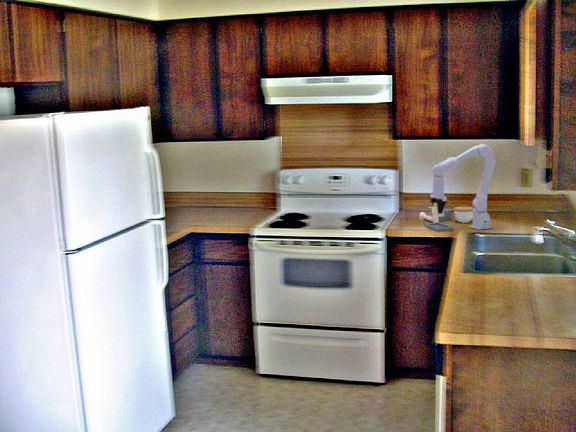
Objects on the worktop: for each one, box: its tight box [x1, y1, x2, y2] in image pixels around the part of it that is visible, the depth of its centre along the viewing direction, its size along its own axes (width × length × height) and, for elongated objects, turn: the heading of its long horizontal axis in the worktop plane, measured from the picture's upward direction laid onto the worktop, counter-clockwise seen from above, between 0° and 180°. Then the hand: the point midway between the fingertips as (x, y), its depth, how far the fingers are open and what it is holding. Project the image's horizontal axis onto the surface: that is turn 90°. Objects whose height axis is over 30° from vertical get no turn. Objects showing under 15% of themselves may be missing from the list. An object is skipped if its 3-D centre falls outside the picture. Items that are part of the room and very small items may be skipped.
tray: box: [423, 222, 454, 232], centre depth 400 cm, size 15×9×2 cm, turn 17°
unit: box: [438, 208, 454, 222], centre depth 422 cm, size 6×9×6 cm, turn 107°
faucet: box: [418, 206, 439, 223], centre depth 421 cm, size 4×18×10 cm, turn 19°
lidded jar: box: [453, 204, 474, 224], centre depth 415 cm, size 11×11×9 cm
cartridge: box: [432, 203, 445, 217], centre depth 399 cm, size 4×4×7 cm
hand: (438, 212), depth 399 cm, fingers closed on cartridge, 4 cm apart
